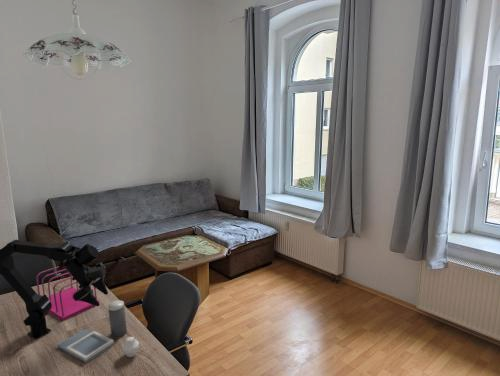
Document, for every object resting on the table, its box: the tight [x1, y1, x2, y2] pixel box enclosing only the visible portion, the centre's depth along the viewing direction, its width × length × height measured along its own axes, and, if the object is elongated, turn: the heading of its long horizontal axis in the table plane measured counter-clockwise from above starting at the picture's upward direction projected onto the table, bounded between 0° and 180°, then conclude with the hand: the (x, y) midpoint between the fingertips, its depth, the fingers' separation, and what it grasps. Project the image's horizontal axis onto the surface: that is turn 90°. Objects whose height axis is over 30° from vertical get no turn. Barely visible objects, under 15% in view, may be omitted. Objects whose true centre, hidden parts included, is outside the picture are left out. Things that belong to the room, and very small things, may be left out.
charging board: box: [56, 328, 115, 364], centre depth 137 cm, size 18×12×2 cm, turn 59°
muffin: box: [121, 336, 140, 358], centre depth 131 cm, size 6×6×7 cm
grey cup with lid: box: [107, 300, 128, 339], centre depth 143 cm, size 6×6×13 cm
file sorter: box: [35, 265, 100, 322], centre depth 167 cm, size 17×25×16 cm
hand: (103, 299), depth 144 cm, fingers open, 9 cm apart
